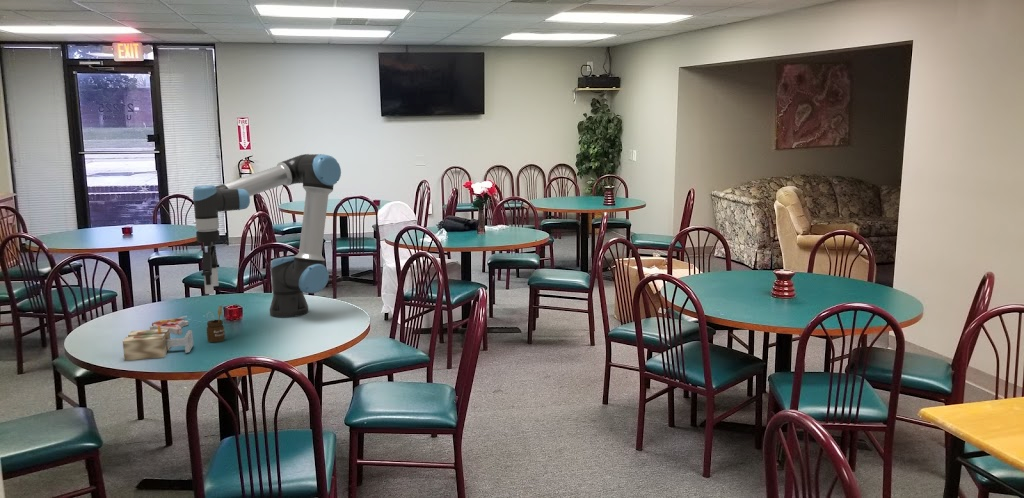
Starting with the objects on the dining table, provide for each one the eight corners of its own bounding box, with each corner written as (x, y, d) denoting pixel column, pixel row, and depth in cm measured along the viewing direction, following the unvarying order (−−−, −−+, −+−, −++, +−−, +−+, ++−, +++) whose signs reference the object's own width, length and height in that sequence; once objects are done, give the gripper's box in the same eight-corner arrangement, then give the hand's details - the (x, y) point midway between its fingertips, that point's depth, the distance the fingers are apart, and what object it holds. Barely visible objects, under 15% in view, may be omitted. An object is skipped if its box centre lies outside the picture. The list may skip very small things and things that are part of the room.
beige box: (170, 346, 268) (169, 327, 267) (163, 357, 256) (162, 337, 255) (133, 349, 265) (131, 330, 264) (124, 360, 253) (122, 340, 252)
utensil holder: (203, 341, 274) (200, 308, 272) (217, 337, 279) (214, 304, 277) (216, 343, 271) (213, 310, 269) (229, 338, 277) (227, 306, 275)
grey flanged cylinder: (193, 345, 268) (191, 320, 267) (189, 352, 260) (187, 326, 258) (149, 348, 265) (146, 323, 263) (143, 356, 256) (141, 330, 255)
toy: (186, 313, 303) (199, 324, 286) (187, 321, 303) (199, 333, 287) (145, 319, 294) (156, 331, 278) (146, 328, 295) (156, 340, 279)
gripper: (201, 226, 280) (205, 283, 283) (190, 235, 256) (195, 297, 259) (223, 225, 282) (227, 282, 285) (214, 234, 258) (219, 296, 261)
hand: (212, 289), depth 272 cm, fingers open, 13 cm apart
